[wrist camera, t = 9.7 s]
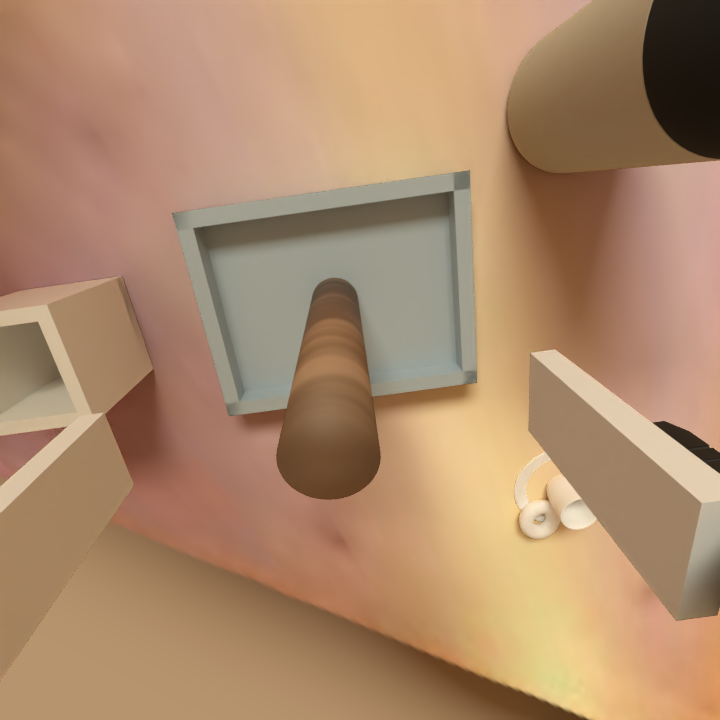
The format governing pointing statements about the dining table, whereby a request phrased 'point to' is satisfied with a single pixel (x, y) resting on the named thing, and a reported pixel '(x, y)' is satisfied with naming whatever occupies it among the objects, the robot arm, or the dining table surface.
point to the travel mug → (621, 88)
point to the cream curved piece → (550, 504)
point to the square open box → (67, 353)
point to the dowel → (330, 402)
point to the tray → (337, 260)
